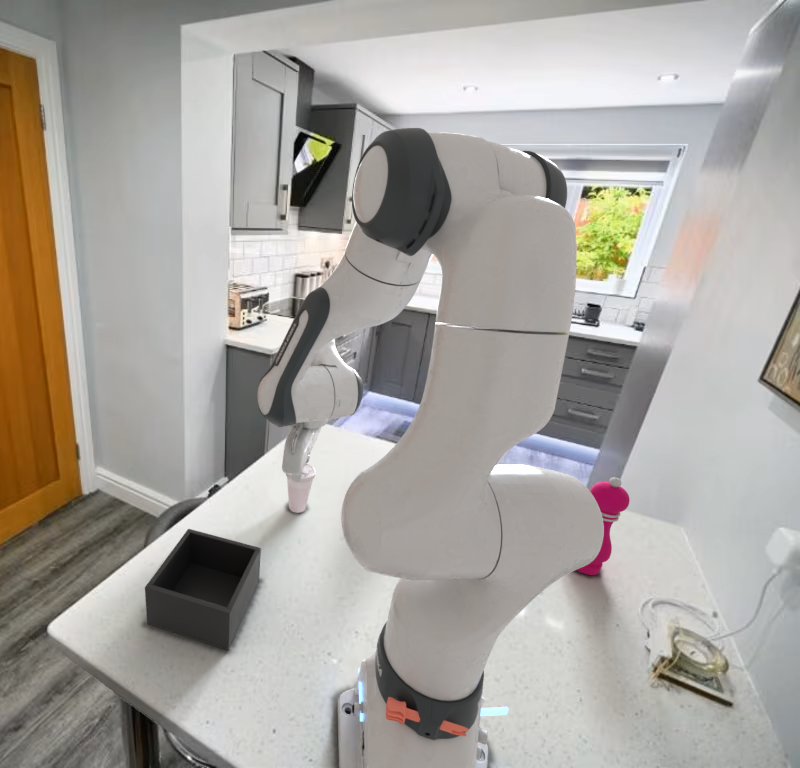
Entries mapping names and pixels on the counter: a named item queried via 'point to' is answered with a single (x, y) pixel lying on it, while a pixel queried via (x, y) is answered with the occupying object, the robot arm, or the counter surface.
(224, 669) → the counter surface
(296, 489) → the smoothie
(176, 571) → the basket
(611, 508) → the pepper mill
